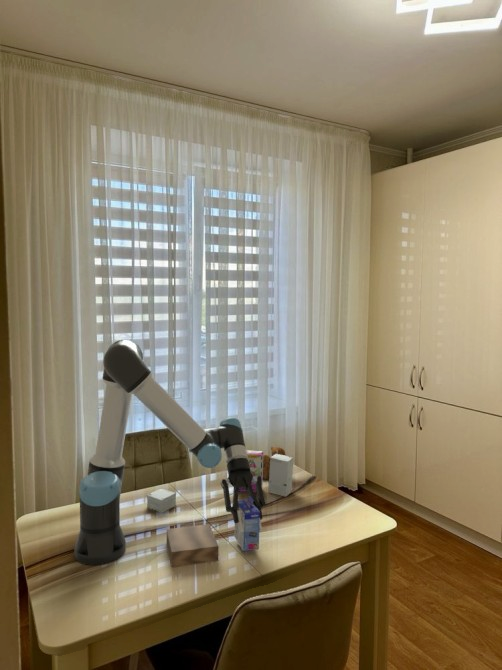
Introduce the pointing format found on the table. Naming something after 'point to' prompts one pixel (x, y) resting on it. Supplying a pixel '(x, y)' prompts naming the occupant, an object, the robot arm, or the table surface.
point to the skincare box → (280, 475)
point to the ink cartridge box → (248, 525)
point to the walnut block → (192, 545)
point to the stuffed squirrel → (267, 460)
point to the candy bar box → (255, 466)
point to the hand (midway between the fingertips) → (250, 531)
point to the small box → (161, 500)
